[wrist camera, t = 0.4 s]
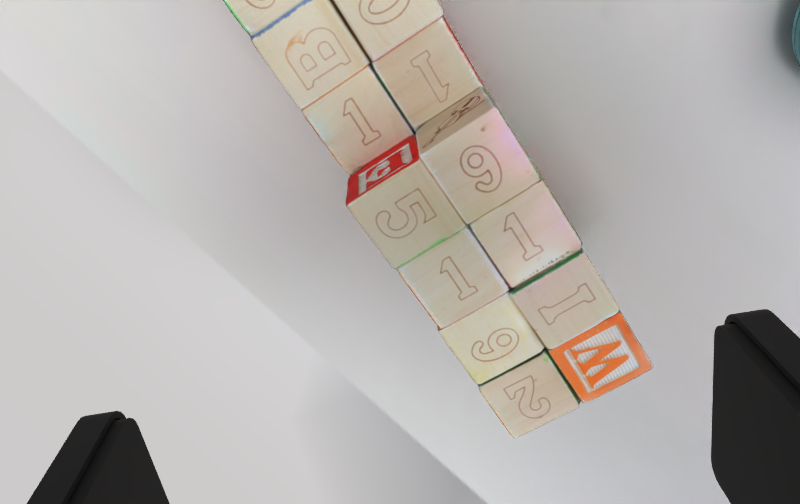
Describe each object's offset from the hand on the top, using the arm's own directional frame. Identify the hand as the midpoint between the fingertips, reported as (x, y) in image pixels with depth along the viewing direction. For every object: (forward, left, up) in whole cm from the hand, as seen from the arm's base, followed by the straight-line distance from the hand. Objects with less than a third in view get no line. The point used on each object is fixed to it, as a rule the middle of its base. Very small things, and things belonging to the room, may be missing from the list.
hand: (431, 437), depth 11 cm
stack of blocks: (-1, -1, -26) cm, 26 cm away
